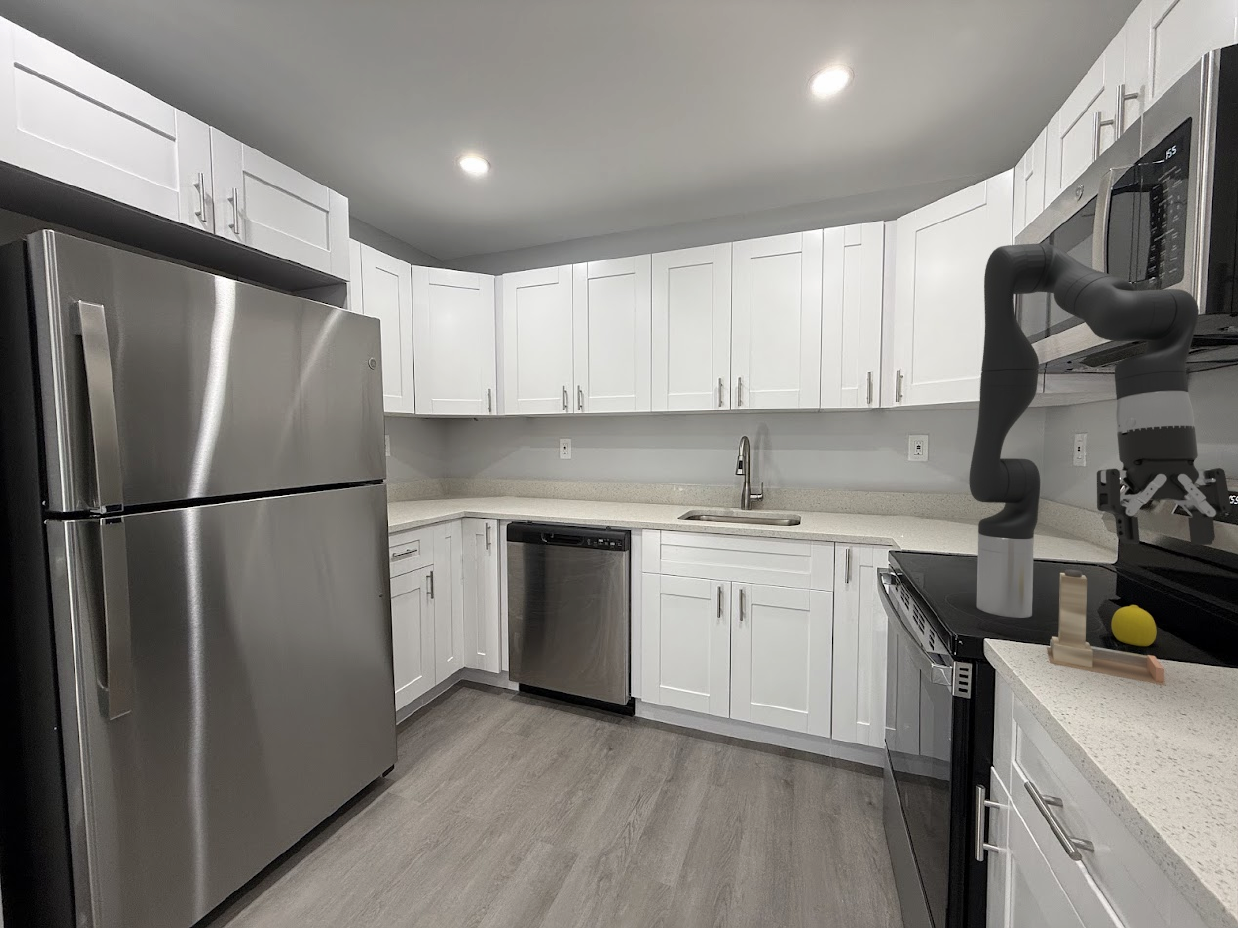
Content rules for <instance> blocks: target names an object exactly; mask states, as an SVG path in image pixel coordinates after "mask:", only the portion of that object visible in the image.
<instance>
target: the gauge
mask: <svg viewBox="0 0 1238 928" xmlns="http://www.w3.org/2000/svg"><path fill="white" fill-rule="evenodd" d="M1058 594H1059V595H1058V597H1059V598H1058V599H1059V601H1058V633H1057V635H1058V636H1051V639H1052V655H1053V658H1054V660H1055V661H1061V662H1066V663H1071V664H1077V665H1082V666H1087V667H1092V657H1093V651H1092V649H1091V647H1090V646H1091V645H1090V643H1089V642H1087V641H1086V639H1087V637H1086V635H1087V608H1088V607H1087V606H1088V605H1087V601H1088V600H1087V599H1088V598H1087V597H1088V596H1087V595H1088V578H1087V577H1086V575H1083V572H1082V571H1081V570H1076V569H1064V572H1059V593H1058Z"/></svg>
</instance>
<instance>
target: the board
mask: <svg viewBox="0 0 1238 928" xmlns="http://www.w3.org/2000/svg"><path fill="white" fill-rule="evenodd" d="M1046 650H1047V655H1048V656H1047V657H1048V659H1049V660H1048V661H1049V663H1050V664H1052V665H1057V666H1062V667H1067V668H1073V669H1077V670H1078V669H1079V670H1083V671H1089V672H1093V673H1098V674H1103V675H1107V676H1114V677H1119V678H1124V679H1130V680H1134V681H1138V682H1139V681H1140V682H1146V683H1150V684H1154V685H1155V684H1156V685H1158V686H1159V685H1160V686H1167V685H1166V684H1165V681H1164V682H1160V681H1156V680H1155V679H1154V677H1153V676H1152V674H1151V673H1150V671H1149V670H1148V668H1146V667H1141V666H1135V665H1130V664H1124V663H1119V662H1113V661H1108V660H1102V659H1097V658H1092V667H1087V666H1082V665H1077V664H1071V663H1066V662H1061V661H1055V660H1054V658H1053V655H1052V650H1051V648H1050V647H1048V646H1046Z"/></svg>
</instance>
